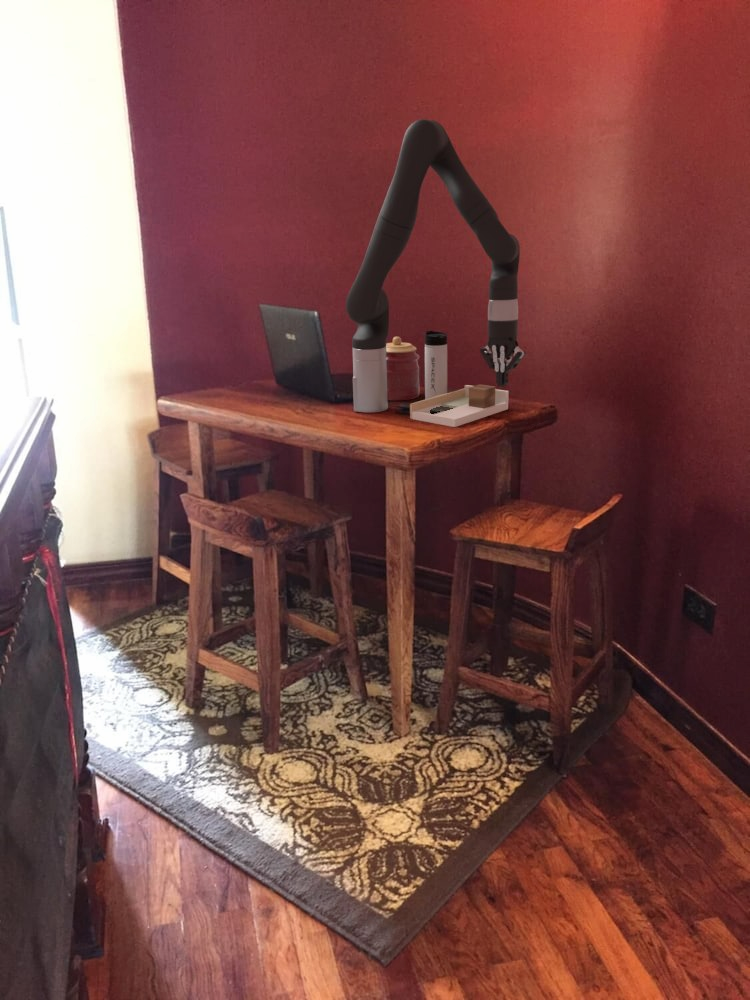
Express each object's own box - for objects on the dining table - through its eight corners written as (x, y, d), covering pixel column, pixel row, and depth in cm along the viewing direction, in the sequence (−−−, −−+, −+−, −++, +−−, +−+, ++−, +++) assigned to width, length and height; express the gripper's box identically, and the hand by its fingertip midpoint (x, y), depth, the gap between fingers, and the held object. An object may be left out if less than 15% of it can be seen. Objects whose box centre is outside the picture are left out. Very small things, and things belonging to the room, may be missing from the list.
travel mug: (437, 399, 226) (437, 329, 219) (451, 403, 221) (451, 331, 214) (420, 402, 223) (419, 331, 216) (433, 406, 218) (433, 334, 211)
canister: (378, 392, 238) (376, 333, 232) (420, 391, 236) (420, 333, 230) (374, 401, 226) (372, 340, 220) (418, 401, 224) (418, 339, 218)
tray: (454, 427, 196) (454, 407, 194) (410, 418, 205) (409, 400, 203) (508, 409, 212) (508, 391, 210) (464, 402, 221) (464, 384, 220)
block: (484, 408, 205) (484, 389, 203) (468, 406, 208) (468, 387, 206) (494, 405, 208) (495, 386, 207) (479, 402, 212) (480, 384, 210)
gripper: (533, 317, 193) (532, 386, 199) (489, 314, 202) (489, 381, 207) (517, 320, 188) (515, 391, 194) (472, 318, 196) (472, 385, 202)
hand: (502, 385), depth 201 cm, fingers closed
